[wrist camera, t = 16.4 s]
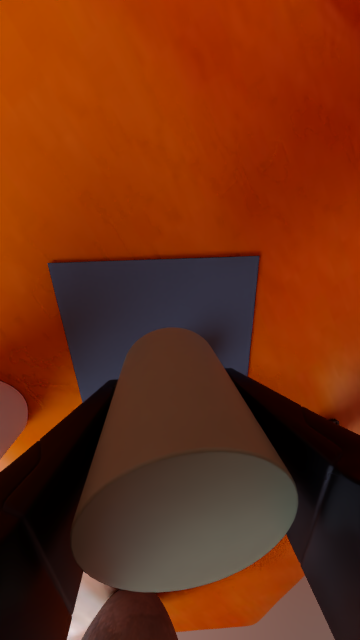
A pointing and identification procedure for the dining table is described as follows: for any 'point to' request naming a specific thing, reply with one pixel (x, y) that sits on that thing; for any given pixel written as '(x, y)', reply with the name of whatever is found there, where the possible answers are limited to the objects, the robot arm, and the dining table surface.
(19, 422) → the alcohol
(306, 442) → the robot arm
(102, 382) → the placemat
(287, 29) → the dining table surface
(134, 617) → the vase
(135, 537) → the sage candle
